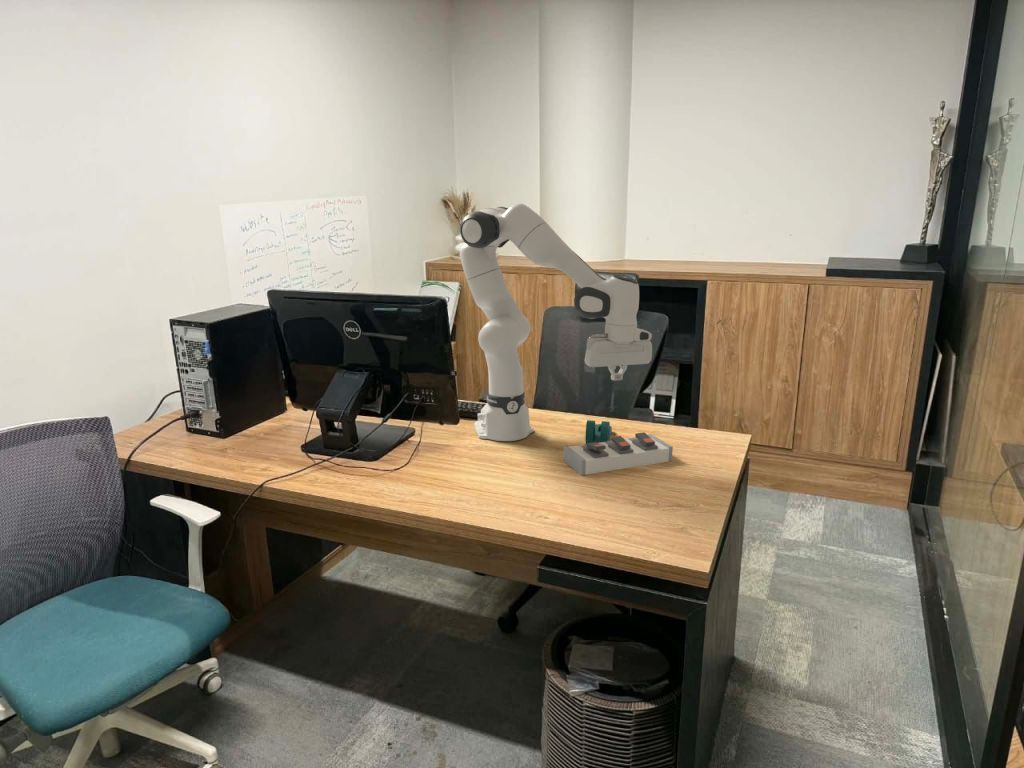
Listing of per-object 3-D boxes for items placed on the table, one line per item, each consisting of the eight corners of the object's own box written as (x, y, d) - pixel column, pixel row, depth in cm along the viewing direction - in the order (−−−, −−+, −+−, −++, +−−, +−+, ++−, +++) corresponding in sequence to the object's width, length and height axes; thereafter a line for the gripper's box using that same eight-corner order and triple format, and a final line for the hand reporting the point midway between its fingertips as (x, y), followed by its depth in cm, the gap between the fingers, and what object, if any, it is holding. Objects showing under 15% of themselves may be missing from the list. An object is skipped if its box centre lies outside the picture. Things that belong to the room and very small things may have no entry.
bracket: (607, 450, 213) (608, 425, 211) (585, 448, 215) (585, 424, 213) (612, 431, 230) (613, 408, 228) (592, 430, 232) (592, 407, 230)
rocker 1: (586, 446, 201) (586, 443, 200) (595, 445, 202) (595, 441, 201) (596, 450, 195) (595, 446, 195) (605, 449, 196) (605, 445, 196)
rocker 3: (635, 436, 206) (635, 433, 205) (644, 435, 207) (644, 432, 206) (645, 446, 201) (646, 442, 200) (654, 444, 202) (655, 441, 201)
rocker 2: (611, 440, 203) (611, 436, 203) (620, 438, 204) (620, 435, 204) (621, 449, 198) (621, 446, 198) (630, 448, 199) (630, 445, 199)
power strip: (563, 460, 204) (563, 445, 203) (650, 447, 214) (650, 432, 213) (581, 475, 193) (581, 459, 192) (672, 460, 203) (672, 445, 202)
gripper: (592, 336, 192) (589, 385, 196) (656, 333, 199) (652, 380, 203) (582, 332, 197) (579, 379, 201) (645, 329, 205) (641, 374, 208)
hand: (616, 379), depth 202 cm, fingers closed
